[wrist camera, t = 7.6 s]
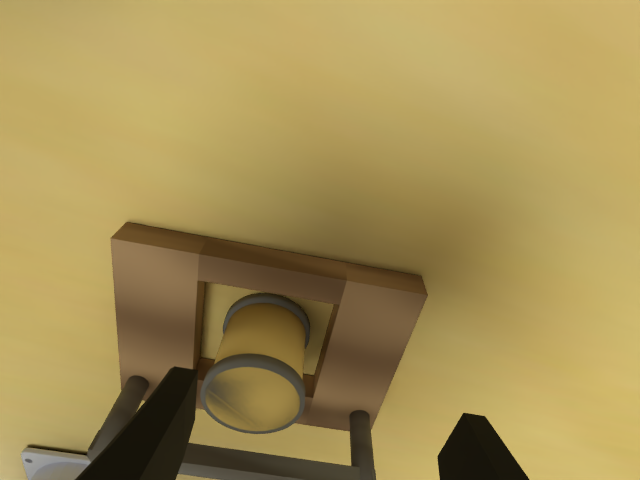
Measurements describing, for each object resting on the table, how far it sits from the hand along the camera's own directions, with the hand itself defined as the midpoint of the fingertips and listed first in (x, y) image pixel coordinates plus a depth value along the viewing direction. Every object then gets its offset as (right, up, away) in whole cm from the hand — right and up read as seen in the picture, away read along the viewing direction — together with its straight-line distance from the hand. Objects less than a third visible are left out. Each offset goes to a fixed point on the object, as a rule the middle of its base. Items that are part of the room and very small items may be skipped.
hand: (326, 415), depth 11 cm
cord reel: (-3, 0, +12) cm, 12 cm away
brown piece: (-3, 0, +12) cm, 12 cm away
